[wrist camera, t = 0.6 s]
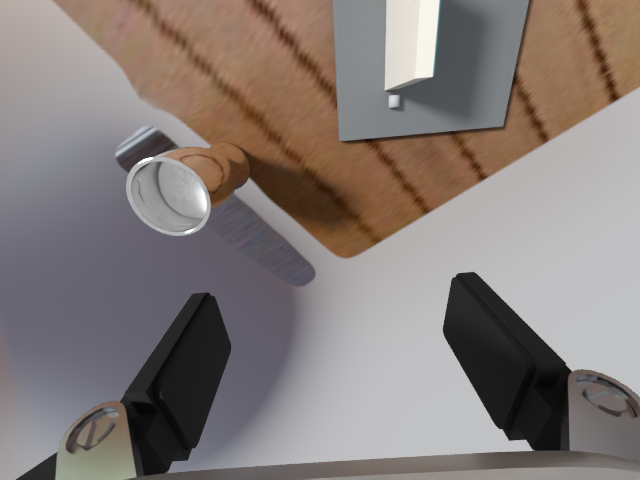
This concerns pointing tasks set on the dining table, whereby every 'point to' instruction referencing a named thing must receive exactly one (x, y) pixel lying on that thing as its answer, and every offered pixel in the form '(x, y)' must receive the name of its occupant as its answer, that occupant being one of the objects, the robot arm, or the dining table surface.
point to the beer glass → (186, 186)
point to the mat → (446, 84)
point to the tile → (410, 41)
